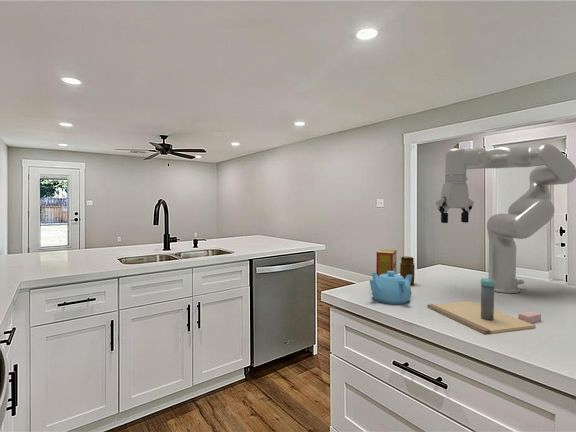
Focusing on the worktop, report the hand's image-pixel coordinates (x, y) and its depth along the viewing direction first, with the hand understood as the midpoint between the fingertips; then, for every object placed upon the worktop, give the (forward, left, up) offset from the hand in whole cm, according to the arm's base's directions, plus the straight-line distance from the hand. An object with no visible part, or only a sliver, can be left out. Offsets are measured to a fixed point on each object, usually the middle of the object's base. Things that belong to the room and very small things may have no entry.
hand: (454, 222), depth 132 cm
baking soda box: (+22, -14, -28) cm, 39 cm away
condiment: (+10, -16, -29) cm, 34 cm away
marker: (+14, +30, -28) cm, 43 cm away
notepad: (+14, +26, -28) cm, 41 cm away
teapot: (+30, +2, -29) cm, 41 cm away
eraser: (+1, +33, -29) cm, 44 cm away
